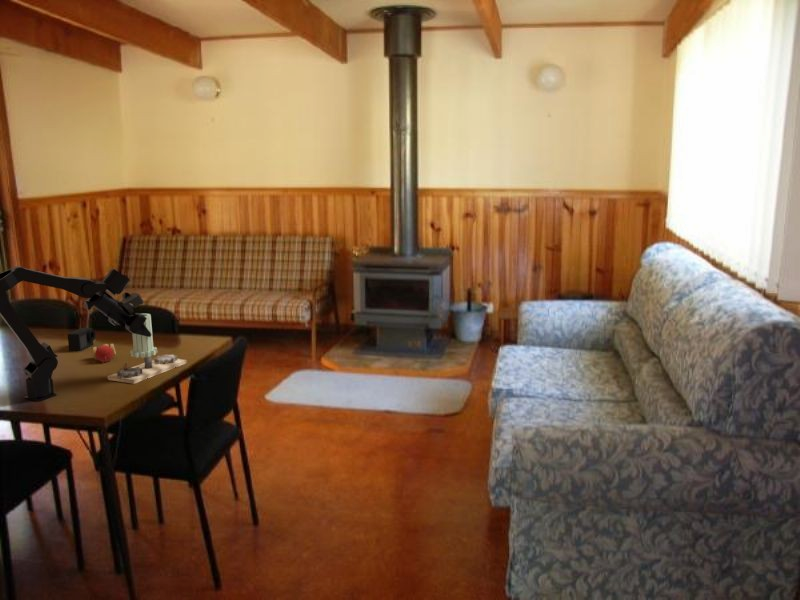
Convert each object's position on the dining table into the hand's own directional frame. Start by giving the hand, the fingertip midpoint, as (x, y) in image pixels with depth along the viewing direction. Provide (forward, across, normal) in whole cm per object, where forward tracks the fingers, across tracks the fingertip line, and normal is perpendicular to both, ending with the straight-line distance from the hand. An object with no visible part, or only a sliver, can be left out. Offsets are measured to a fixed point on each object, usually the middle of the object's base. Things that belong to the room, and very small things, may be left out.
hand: (146, 334), depth 221 cm
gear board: (+11, +4, +9) cm, 14 cm away
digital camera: (+7, +50, +13) cm, 52 cm away
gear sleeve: (+4, 0, +6) cm, 7 cm away
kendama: (+8, +31, +12) cm, 35 cm away
